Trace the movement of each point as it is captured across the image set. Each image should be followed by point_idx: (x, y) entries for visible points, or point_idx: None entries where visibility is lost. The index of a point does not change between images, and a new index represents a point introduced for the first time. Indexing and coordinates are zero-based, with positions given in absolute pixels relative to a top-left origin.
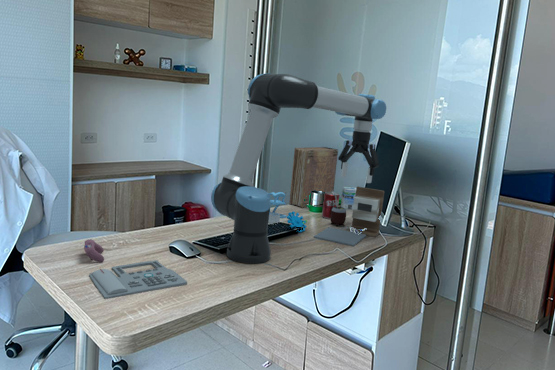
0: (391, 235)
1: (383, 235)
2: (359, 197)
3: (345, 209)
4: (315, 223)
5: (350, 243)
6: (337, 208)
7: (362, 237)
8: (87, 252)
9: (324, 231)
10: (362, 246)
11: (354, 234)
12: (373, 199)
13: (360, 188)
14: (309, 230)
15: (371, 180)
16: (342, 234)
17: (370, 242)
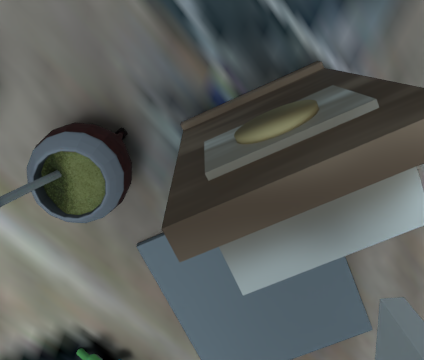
0: (376, 20)
1: (351, 68)
2: (265, 260)
3: (96, 150)
4: (43, 241)
5: (353, 328)
6: (54, 180)
7: None
8: None
9: (184, 310)
10: (389, 295)
11: None
12: (373, 198)
13: (221, 240)
14: (131, 337)
15: (419, 319)
16: None
17: None
